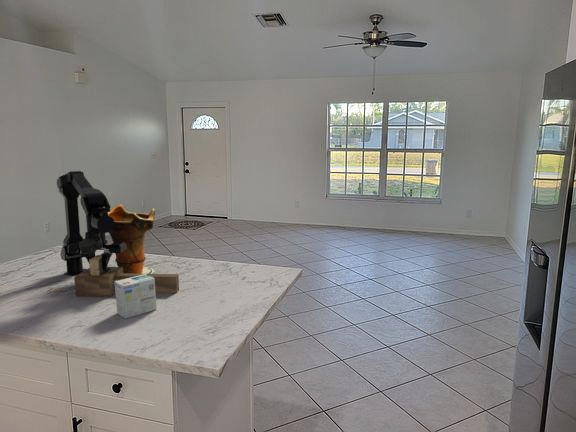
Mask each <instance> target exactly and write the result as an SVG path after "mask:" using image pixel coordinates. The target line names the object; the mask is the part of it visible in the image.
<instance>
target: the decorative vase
mask: <svg viewBox="0 0 576 432" xmlns="http://www.w3.org/2000/svg"><path fill="white" fill-rule="evenodd" d="M155 213H156V209H155V208H151V210H150V211H149V213H144V212H133V211H132V212H131V211H127V210H126V209H125V208H124V206H123V204H122V203H121V204H117V205H115V206H114V207H113V208H112V209H110V212H108V216H110V217H112V218H113V220H114V222H115V226H114V228H113V230H112V231H110V232H108V234H109V235H110V238H111V240H112V243H114V242H125V244H126V247H127V249H126V250H125V251H123V252H122V253H114V254H115V257H116V258H115V260H114V261H115V263H114V264H116V265H117V266H116V267H123V274H154V273H155V270H154V269H153V268H152V267H147V266H144V264H145V261H146V260H147V259H146V258H147V257H146V256H145V255H146V254H145V253H146V252H145V238H146V237H145V235H146V233H147V232H148V231H150V230H152V229H153V228H154V224H155V223H154V222H155V216H156V215H155Z"/></svg>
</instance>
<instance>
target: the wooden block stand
mask: <svg viewBox="0 0 576 432" xmlns="http://www.w3.org/2000/svg"><path fill="white" fill-rule="evenodd" d="M86 269H87V270H85V271H83V272H82V273H80V274H79V275H74V278H73V279H74V288H75V289H74V290H75V297H84V298H85V297H88V298H91V297H93V298H95V297H97V298H99V297H101V298H106V297H107V298H110V297H112V296H113V295H114V294H116V293H115V283H114V281H118V280H123V279H127V278H131V277H135V276H139V275H143V274H123V267H118V266H107V272H106V273H104V274H103V275H101V276H95V275H91V274H90V267H88V268H86ZM147 275H149V276H151V277H153V278H155V292H156V294H162V293H163V294H165V293H167V294H178V292H179V291H180V281H179V280H180V279H179V278H180V277H179V273H152V274H147Z"/></svg>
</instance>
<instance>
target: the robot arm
mask: <svg viewBox="0 0 576 432" xmlns="http://www.w3.org/2000/svg"><path fill="white" fill-rule="evenodd" d="M56 187H57V189H58V192H59V194H61V196H62V197H63V200H64V210H65V223H66V225H65V226H66V236H65V238H64V239H63V240H62V247H61V251H60V253H59V254H60V259H61V260H63V261H64V262H65V263H66V272H65V271H64V272H63V275H65V276H67V275H70V276H71V275H74V276H77V275H79V274H80V273H82V272H83V271H85V270H87V269H88V268H84V267H83V266H84V265H83V258H85V259H86V261H87V262H88V265H90V263H89V260H90V259H91V258H93V257H95V256H96V252H97V250H98V251H103V252H102V253H100V255H101V256H102V257H103V271H105V270H106V268H107V267H109V266H108V265H109V262H110V259H111V258H112V255H113V254H115V253H122V252H123V251H125V250H126V249H127V247H126V244H125V242H114V243H113V242H112V243H111V244H108V240H107V239H106V233H107V234H109V232H110V231H112V230H113V228H114V226H115V222H114V220H113V218H112V217H110V216H108V212H110V211H111V205H110V203H109V200H108V198H107V196H106V194H104V193H103V191H101V190H100V189H98V188H95V187H93V185H92V184H91V183H90V182H89V180H88V179H87V178H86V176H85V173H84V172H83V171H81V170H72V171H71V170H70V171H68V172H67V173H65V174H63V175H60V176H59V177H57V179H56ZM79 197H80V199H78V198H79ZM78 200H80V201H78ZM79 202H80V205H81V207H82V209H83V212H84V214H85V222H86V232H85V234H84V237H83V236H82V235H81V229H80V216H79V213H80V212H79Z"/></svg>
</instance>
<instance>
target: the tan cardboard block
mask: <svg viewBox="0 0 576 432" xmlns="http://www.w3.org/2000/svg"><path fill="white" fill-rule="evenodd" d="M89 263H90V264H89ZM88 264H89V268H90V274H91V275H95V276H101V275H103V274H104V273H106V272H107V268H106V270H105V271H103V257H102V256H101V254H95V257H93V258H91V259H90V260H89V262H88Z"/></svg>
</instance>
